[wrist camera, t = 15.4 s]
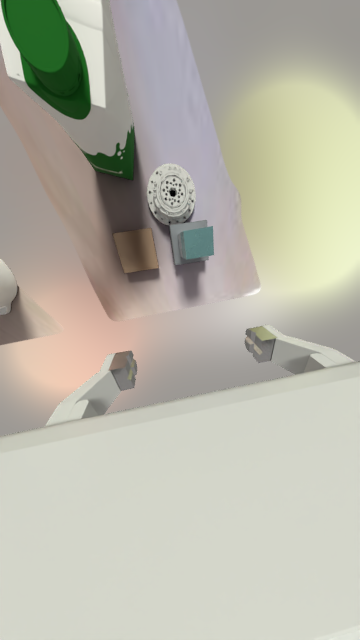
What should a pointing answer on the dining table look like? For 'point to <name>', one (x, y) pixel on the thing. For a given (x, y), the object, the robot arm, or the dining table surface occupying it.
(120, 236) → the walnut stand
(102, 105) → the milk carton
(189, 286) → the dining table surface
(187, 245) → the block
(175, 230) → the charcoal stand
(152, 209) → the mechanical component
